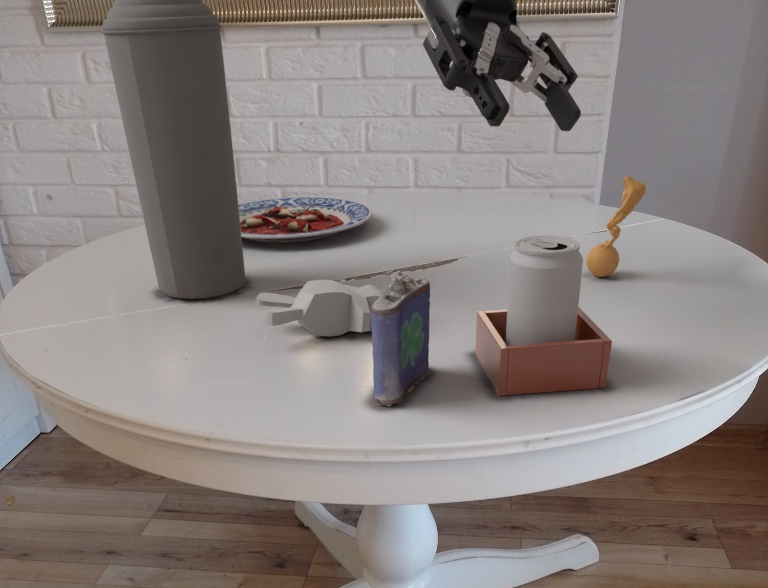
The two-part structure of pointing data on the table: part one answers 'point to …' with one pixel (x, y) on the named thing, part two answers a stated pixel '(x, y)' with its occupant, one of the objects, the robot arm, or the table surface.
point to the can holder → (542, 358)
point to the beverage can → (543, 290)
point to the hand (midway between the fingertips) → (538, 121)
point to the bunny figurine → (323, 307)
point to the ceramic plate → (299, 218)
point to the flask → (400, 337)
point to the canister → (179, 141)
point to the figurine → (615, 231)
